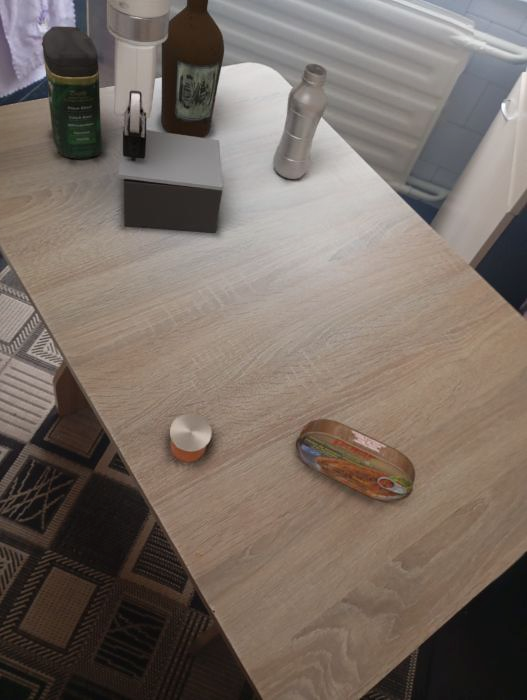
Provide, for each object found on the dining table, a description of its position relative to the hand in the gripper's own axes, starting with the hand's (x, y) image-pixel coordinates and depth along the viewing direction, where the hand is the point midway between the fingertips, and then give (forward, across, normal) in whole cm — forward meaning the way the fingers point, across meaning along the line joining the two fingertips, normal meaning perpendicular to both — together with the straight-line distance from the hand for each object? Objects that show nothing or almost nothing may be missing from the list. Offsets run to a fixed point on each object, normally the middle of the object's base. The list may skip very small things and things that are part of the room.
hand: (134, 143), depth 84 cm
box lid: (+2, 0, +6) cm, 6 cm away
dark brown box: (+11, 0, +6) cm, 13 cm away
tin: (+11, +48, +28) cm, 57 cm away
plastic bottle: (+11, -12, +28) cm, 33 cm away
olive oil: (+11, -23, +9) cm, 27 cm away
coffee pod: (+12, +44, +8) cm, 46 cm away
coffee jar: (+12, -14, -10) cm, 21 cm away
